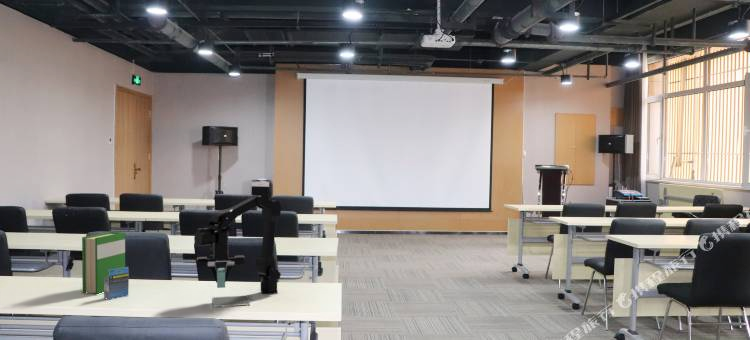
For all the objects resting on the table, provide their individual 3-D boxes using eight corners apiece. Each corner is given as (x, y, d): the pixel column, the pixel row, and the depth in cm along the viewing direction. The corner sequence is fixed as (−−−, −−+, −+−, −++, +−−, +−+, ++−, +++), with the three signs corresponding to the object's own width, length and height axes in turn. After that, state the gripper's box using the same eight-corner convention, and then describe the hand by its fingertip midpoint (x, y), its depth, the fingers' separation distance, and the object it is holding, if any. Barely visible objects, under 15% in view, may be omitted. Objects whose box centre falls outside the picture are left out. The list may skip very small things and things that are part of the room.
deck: (224, 282, 243) (224, 267, 242) (225, 287, 234) (225, 272, 234) (217, 282, 242) (217, 268, 241) (217, 287, 233) (217, 272, 233)
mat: (247, 296, 248) (247, 295, 248) (249, 305, 234) (249, 304, 234) (213, 298, 244) (213, 297, 244) (213, 307, 230) (213, 306, 230)
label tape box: (123, 294, 250) (123, 265, 249) (129, 295, 247) (129, 266, 247) (103, 298, 242) (103, 268, 242) (109, 300, 240) (109, 269, 240)
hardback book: (97, 295, 248) (97, 238, 247) (82, 293, 250) (82, 237, 249) (125, 285, 265) (125, 232, 264) (111, 284, 267) (110, 231, 266)
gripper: (243, 239, 247) (243, 276, 248) (197, 241, 242) (197, 278, 243) (245, 243, 237) (245, 282, 237) (196, 245, 232) (196, 285, 232)
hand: (221, 282), depth 238 cm, fingers closed on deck, 3 cm apart
